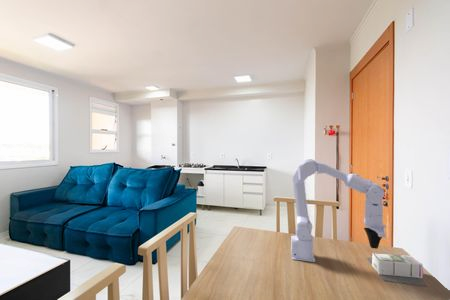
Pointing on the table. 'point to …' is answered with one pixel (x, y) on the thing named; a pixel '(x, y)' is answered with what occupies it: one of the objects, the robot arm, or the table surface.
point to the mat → (401, 278)
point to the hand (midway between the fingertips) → (373, 247)
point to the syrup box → (397, 265)
